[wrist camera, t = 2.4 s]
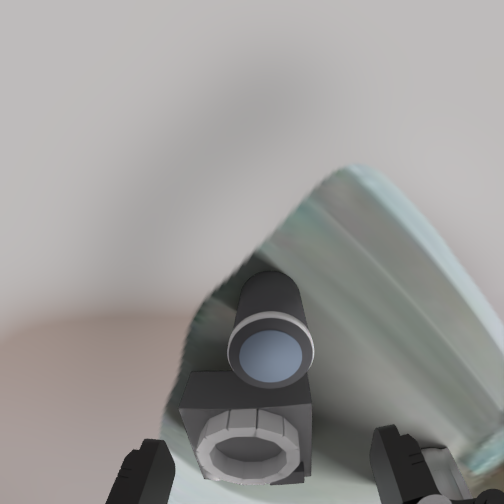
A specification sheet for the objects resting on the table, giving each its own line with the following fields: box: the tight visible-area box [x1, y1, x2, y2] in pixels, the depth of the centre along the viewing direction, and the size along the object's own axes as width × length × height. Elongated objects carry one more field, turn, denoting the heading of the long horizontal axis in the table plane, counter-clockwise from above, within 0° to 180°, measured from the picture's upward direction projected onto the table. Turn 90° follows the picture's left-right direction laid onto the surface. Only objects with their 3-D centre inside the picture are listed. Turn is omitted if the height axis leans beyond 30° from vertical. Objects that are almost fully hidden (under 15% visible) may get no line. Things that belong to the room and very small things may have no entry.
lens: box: [227, 271, 314, 389], centre depth 21 cm, size 5×5×8 cm
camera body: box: [178, 371, 312, 485], centre depth 24 cm, size 10×10×7 cm
